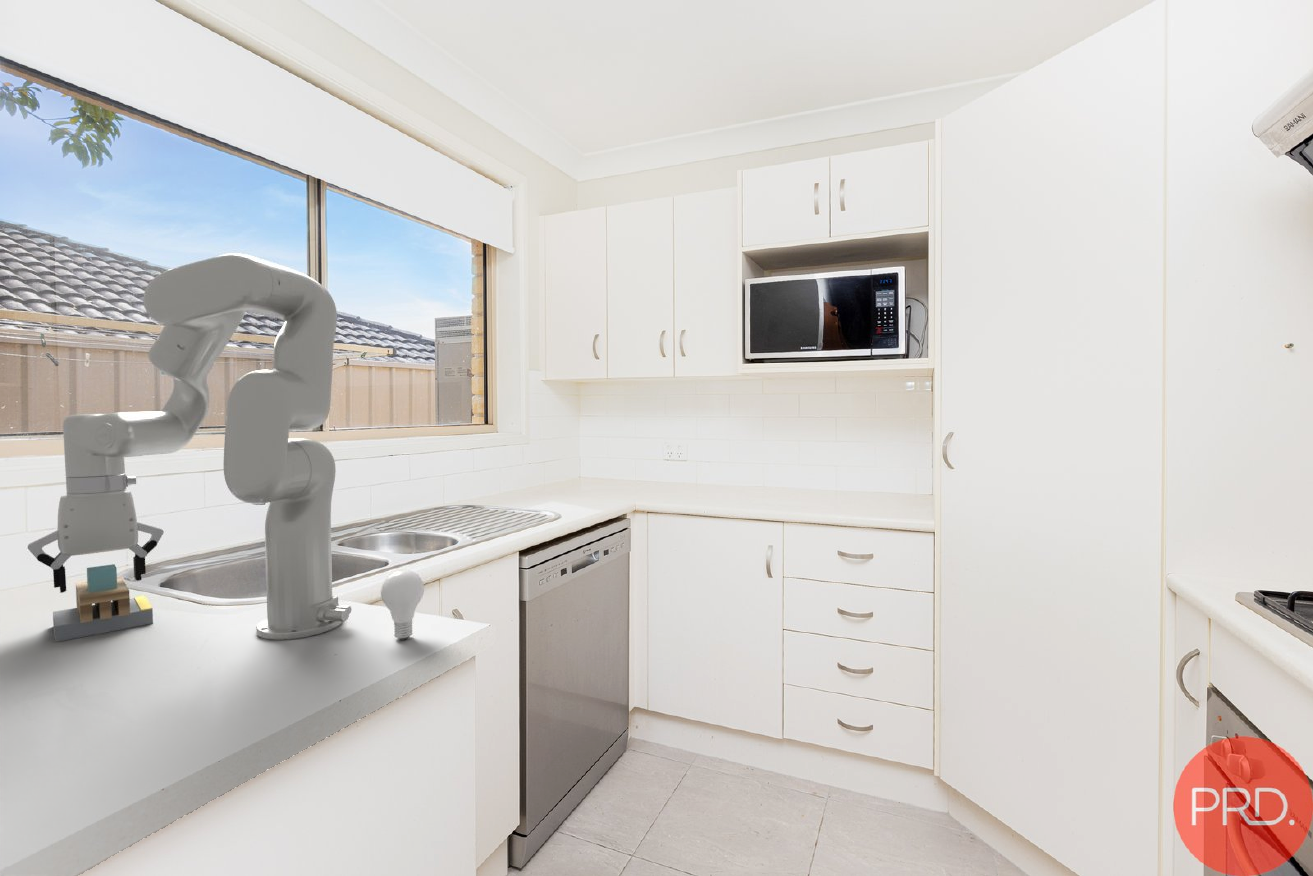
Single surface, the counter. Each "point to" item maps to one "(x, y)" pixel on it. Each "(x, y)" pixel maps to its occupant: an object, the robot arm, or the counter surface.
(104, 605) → the pallet
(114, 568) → the block
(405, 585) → the lightbulb
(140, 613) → the dock
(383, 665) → the counter surface
